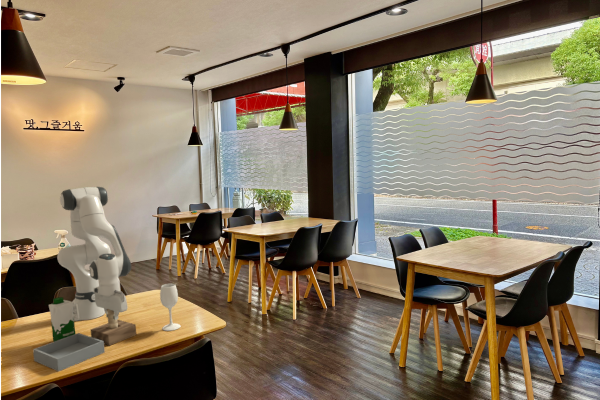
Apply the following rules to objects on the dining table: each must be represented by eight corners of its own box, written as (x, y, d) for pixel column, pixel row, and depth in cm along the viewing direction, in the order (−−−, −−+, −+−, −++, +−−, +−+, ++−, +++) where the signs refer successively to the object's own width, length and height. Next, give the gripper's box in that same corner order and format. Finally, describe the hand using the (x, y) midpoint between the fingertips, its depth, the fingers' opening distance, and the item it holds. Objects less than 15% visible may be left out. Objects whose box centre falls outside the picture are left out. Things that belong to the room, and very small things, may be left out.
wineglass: (158, 328, 215) (155, 286, 213) (174, 323, 221) (171, 282, 219) (168, 332, 209) (164, 289, 207) (184, 326, 215) (181, 284, 214)
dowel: (107, 337, 206) (105, 308, 205) (115, 334, 209) (113, 306, 208) (112, 339, 204) (110, 310, 202) (120, 336, 207) (118, 307, 206)
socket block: (91, 339, 204) (90, 329, 204) (118, 329, 216) (117, 319, 216) (109, 345, 197) (108, 334, 196) (136, 334, 208) (135, 324, 208)
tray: (34, 360, 185) (32, 349, 184) (79, 343, 201) (78, 332, 200) (58, 371, 174) (57, 359, 173) (104, 352, 190) (103, 341, 189)
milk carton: (68, 336, 210) (64, 295, 209) (79, 339, 206) (75, 297, 204) (50, 343, 203) (45, 300, 201) (61, 346, 198) (56, 303, 196)
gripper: (129, 290, 201) (132, 319, 202) (103, 284, 213) (106, 312, 214) (117, 294, 196) (119, 324, 197) (91, 288, 207) (93, 317, 209)
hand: (112, 318), depth 206 cm, fingers closed on dowel, 4 cm apart
